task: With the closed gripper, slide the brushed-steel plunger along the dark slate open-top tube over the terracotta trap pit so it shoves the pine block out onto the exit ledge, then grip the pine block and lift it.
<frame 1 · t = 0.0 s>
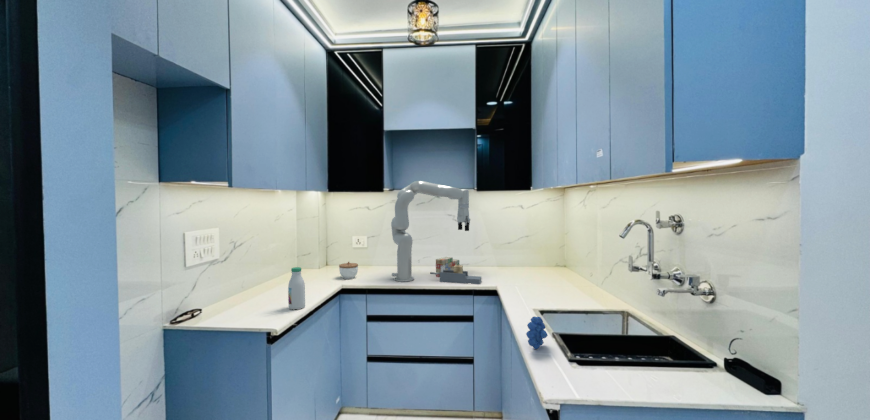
hand: (463, 230, 253), 31 cm above the counter, tool pointing down, fingers open, 9 cm apart
pine block: (458, 276, 230), point 3 cm above the counter, touching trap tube
printed cardboard box: (448, 274, 252), on the counter
plunger: (437, 270, 234), point 6 cm above the counter, slide at 0.0 cm
lidded bowl: (348, 278, 241), on the counter
milk bottle: (296, 308, 176), on the counter
grapes: (538, 349, 127), on the counter
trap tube: (460, 281, 230), on the counter
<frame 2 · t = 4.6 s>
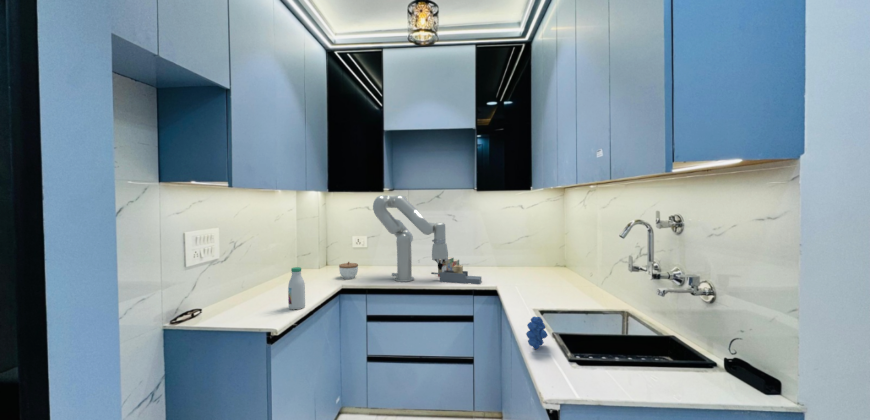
hand: (440, 269, 233), 7 cm above the counter, tool pointing down, fingers closed
plunger: (438, 270, 234), point 6 cm above the counter, slide at 0.8 cm, touching gripper
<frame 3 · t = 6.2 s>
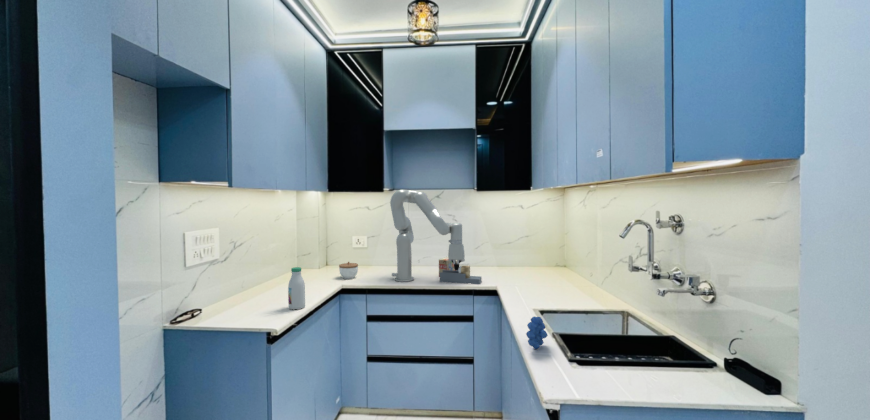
hand: (456, 270, 230), 7 cm above the counter, tool pointing down, fingers closed
pine block: (465, 277, 229), point 3 cm above the counter
plunger: (454, 271, 231), point 6 cm above the counter, slide at 11.8 cm, touching gripper
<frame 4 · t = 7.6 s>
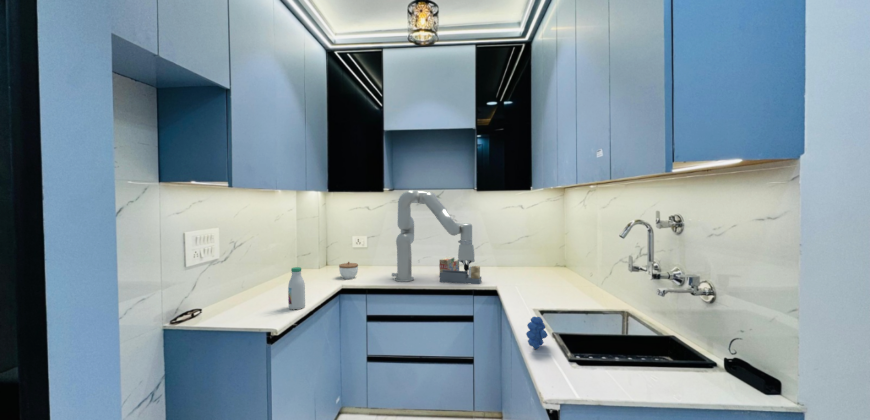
hand: (466, 270, 229), 7 cm above the counter, tool pointing down, fingers closed
pine block: (475, 277, 227), point 3 cm above the counter, touching plunger, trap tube
plunger: (464, 271, 229), point 6 cm above the counter, slide at 18.3 cm, touching gripper, pine block
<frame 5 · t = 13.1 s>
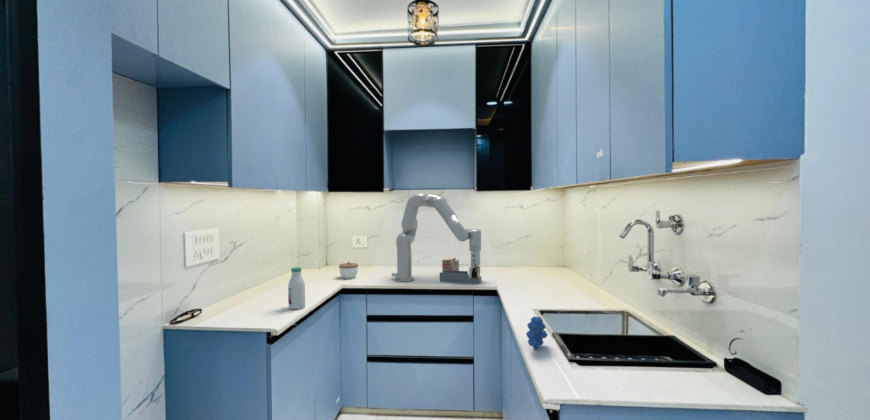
hand: (475, 276, 227), 4 cm above the counter, tool pointing down, fingers closed on pine block, 5 cm apart
pine block: (475, 277, 227), point 3 cm above the counter, touching gripper, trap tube
plunger: (464, 271, 229), point 6 cm above the counter, slide at 18.5 cm
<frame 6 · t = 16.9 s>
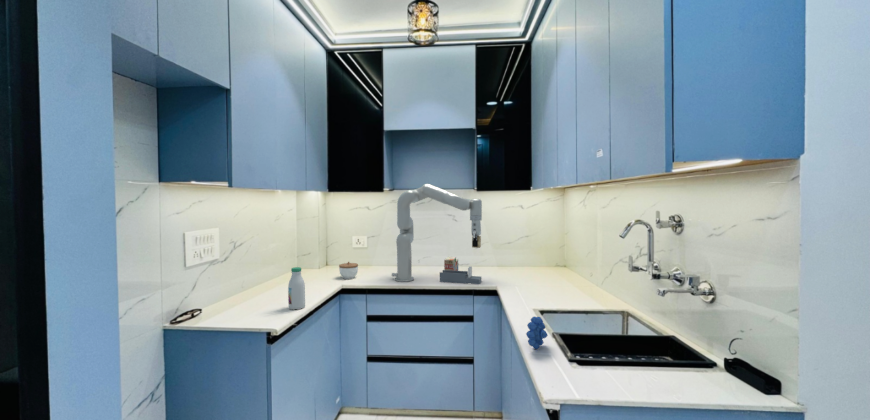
hand: (475, 245, 230), 23 cm above the counter, tool pointing down, fingers closed on pine block, 5 cm apart
pine block: (476, 247, 229), point 22 cm above the counter, touching gripper
plunger: (463, 271, 229), point 6 cm above the counter, slide at 18.0 cm
at the end: the gripper is holding pine block; pine block point 22.4 cm above the counter; plunger slide at 18.0 cm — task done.
